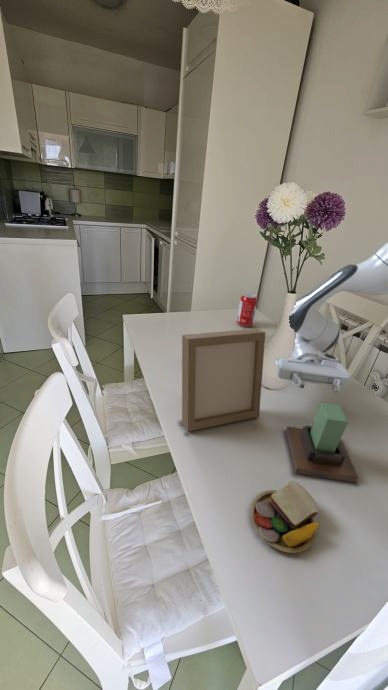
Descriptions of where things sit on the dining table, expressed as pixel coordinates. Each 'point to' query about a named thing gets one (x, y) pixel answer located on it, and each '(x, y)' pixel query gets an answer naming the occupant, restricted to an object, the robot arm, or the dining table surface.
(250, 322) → the soda can
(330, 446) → the back pad
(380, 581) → the dining table surface
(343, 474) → the base
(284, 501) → the toy sandwich meal
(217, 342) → the photo frame
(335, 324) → the robot arm
